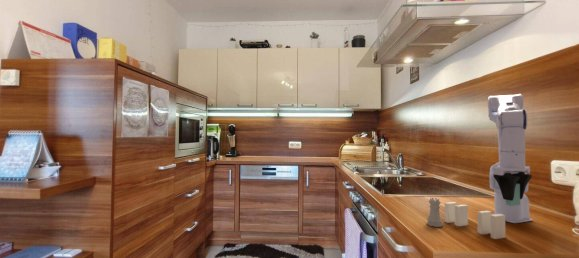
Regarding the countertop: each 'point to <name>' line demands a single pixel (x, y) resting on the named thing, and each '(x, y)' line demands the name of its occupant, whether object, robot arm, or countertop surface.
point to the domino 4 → (497, 226)
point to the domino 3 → (484, 222)
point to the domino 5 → (515, 197)
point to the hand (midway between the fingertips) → (512, 199)
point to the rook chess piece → (434, 213)
